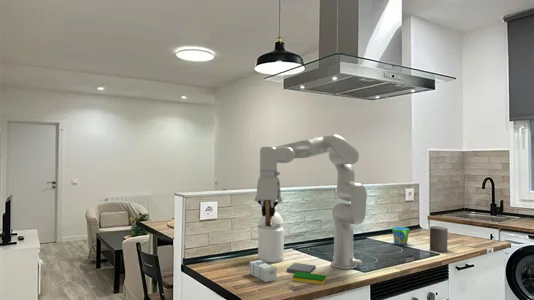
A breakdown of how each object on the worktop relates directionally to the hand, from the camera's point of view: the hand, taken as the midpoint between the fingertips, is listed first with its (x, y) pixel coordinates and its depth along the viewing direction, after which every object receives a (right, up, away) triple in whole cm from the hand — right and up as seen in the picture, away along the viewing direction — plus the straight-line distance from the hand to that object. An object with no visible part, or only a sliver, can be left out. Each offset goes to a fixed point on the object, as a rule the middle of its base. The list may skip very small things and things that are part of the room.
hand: (268, 215), depth 160 cm
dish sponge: (+18, -30, +1) cm, 35 cm away
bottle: (+2, -30, +34) cm, 45 cm away
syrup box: (+2, -26, -1) cm, 26 cm away
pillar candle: (+103, -31, +57) cm, 121 cm away
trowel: (0, -5, 0) cm, 5 cm away
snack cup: (+85, -32, +72) cm, 116 cm away
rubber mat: (+16, -29, +15) cm, 37 cm away
